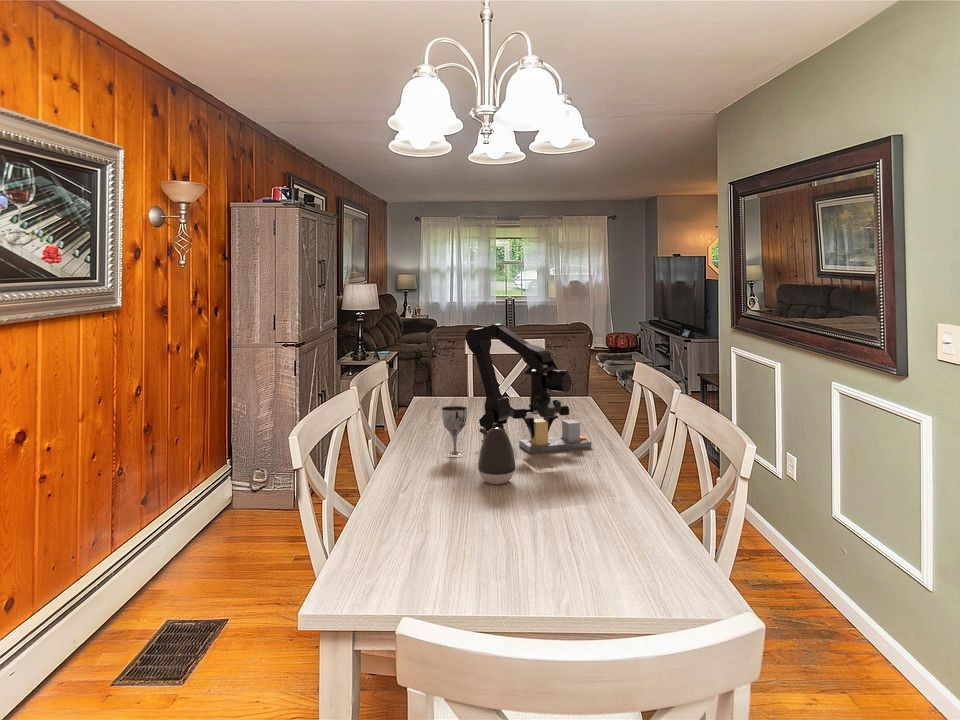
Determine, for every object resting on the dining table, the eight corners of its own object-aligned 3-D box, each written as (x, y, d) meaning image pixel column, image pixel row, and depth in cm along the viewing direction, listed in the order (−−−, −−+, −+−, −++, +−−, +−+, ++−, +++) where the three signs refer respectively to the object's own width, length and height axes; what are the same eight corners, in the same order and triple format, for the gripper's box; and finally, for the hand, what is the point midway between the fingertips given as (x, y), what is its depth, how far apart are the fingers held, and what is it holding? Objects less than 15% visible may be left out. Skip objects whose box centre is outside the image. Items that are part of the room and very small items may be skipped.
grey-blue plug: (568, 448, 213) (568, 423, 212) (562, 444, 217) (562, 420, 216) (579, 447, 214) (580, 422, 213) (573, 443, 219) (573, 419, 218)
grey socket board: (529, 456, 207) (529, 445, 206) (519, 449, 216) (519, 438, 215) (591, 451, 213) (591, 440, 212) (578, 443, 222) (578, 433, 221)
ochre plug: (536, 447, 210) (536, 422, 208) (530, 443, 214) (530, 419, 213) (547, 446, 211) (548, 421, 210) (541, 442, 215) (542, 418, 214)
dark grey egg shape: (489, 474, 190) (488, 421, 188) (521, 479, 184) (521, 425, 182) (470, 483, 181) (470, 429, 179) (504, 489, 176) (504, 433, 174)
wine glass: (455, 450, 216) (454, 404, 214) (472, 454, 210) (472, 407, 208) (437, 455, 210) (436, 408, 208) (454, 459, 204) (453, 411, 202)
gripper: (520, 395, 200) (520, 446, 202) (577, 391, 205) (576, 441, 207) (508, 389, 210) (508, 437, 212) (562, 386, 216) (562, 433, 218)
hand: (539, 437), depth 212 cm, fingers closed on ochre plug, 4 cm apart
